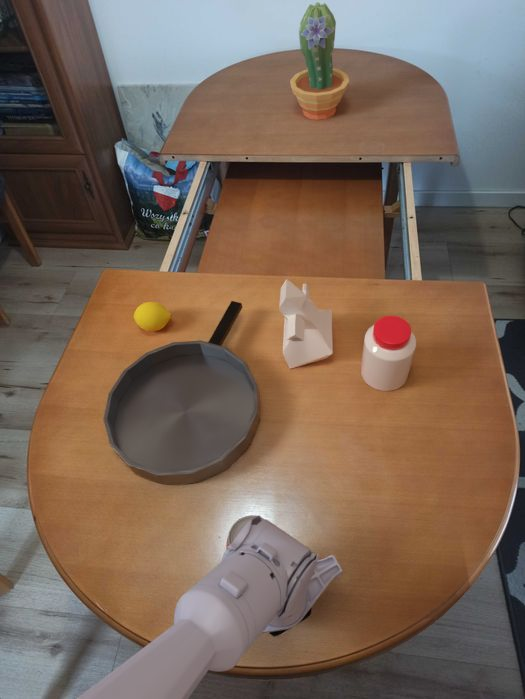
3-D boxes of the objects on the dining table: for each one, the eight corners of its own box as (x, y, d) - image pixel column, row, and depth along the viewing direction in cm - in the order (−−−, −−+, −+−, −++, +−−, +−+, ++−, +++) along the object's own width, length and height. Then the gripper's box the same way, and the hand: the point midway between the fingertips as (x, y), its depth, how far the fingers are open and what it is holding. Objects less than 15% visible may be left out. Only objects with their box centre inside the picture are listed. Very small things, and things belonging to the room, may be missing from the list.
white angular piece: (331, 311, 91) (333, 255, 80) (332, 375, 82) (334, 322, 71) (285, 311, 92) (281, 256, 81) (281, 374, 83) (276, 322, 72)
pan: (222, 507, 70) (218, 498, 67) (83, 455, 77) (74, 444, 74) (300, 330, 89) (299, 317, 86) (182, 301, 95) (178, 287, 92)
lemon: (134, 337, 91) (125, 317, 87) (140, 314, 94) (132, 295, 90) (171, 337, 90) (164, 317, 86) (176, 314, 94) (170, 295, 89)
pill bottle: (356, 385, 81) (361, 344, 72) (364, 348, 85) (370, 306, 76) (404, 395, 79) (416, 354, 70) (410, 357, 83) (422, 314, 74)
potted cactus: (279, 116, 134) (272, 10, 114) (313, 91, 141) (312, -13, 121) (325, 132, 127) (327, 23, 107) (359, 105, 134) (367, -2, 114)
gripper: (319, 517, 53) (318, 551, 64) (195, 586, 50) (216, 610, 61) (356, 579, 49) (348, 605, 60) (224, 659, 46) (241, 671, 57)
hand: (284, 611), depth 60 cm, fingers closed, pressing on beverage can
